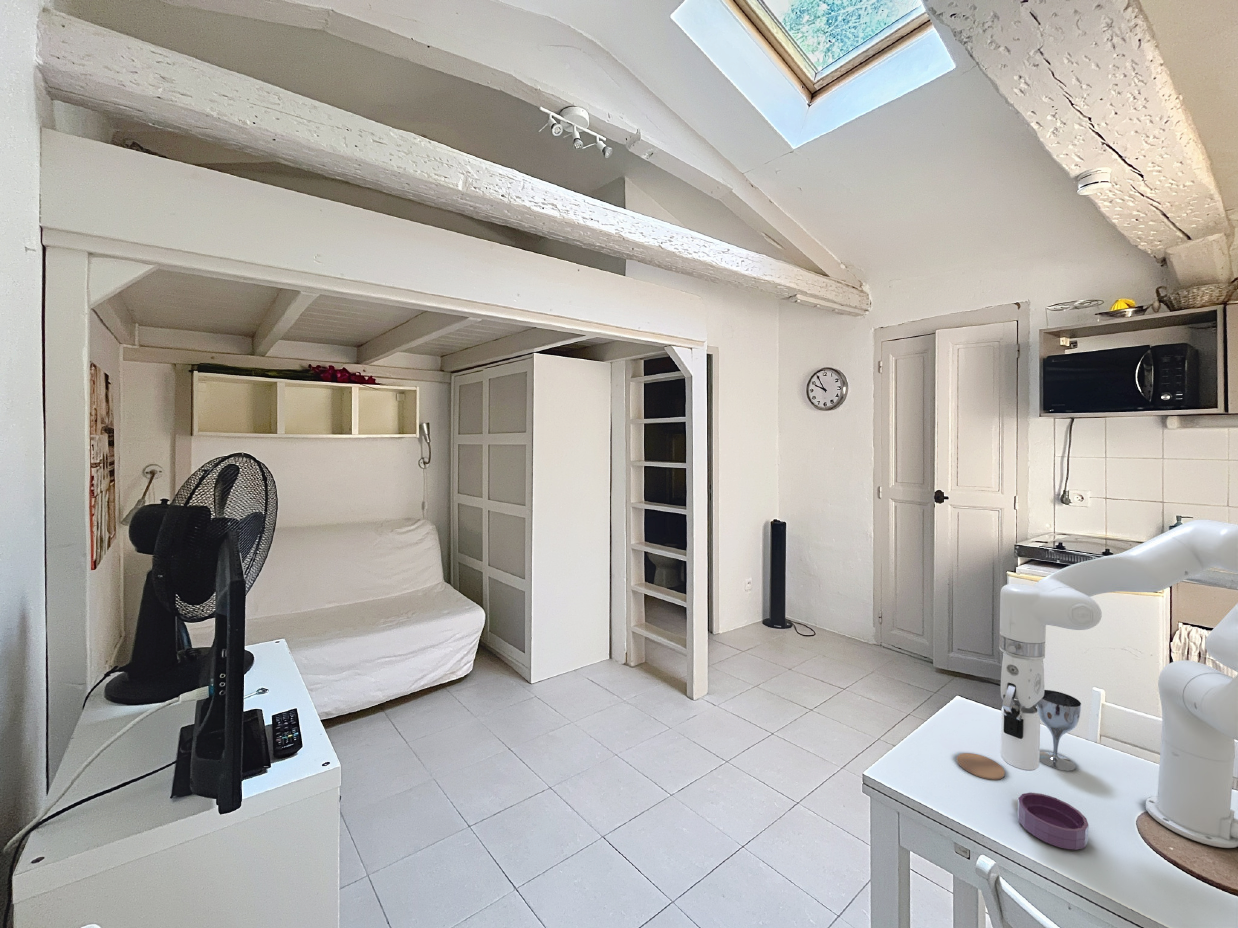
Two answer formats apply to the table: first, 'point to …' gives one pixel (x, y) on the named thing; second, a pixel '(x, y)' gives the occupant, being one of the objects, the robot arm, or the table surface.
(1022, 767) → the can
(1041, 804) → the dish
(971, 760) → the coaster
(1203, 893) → the table surface
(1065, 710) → the wine glass
